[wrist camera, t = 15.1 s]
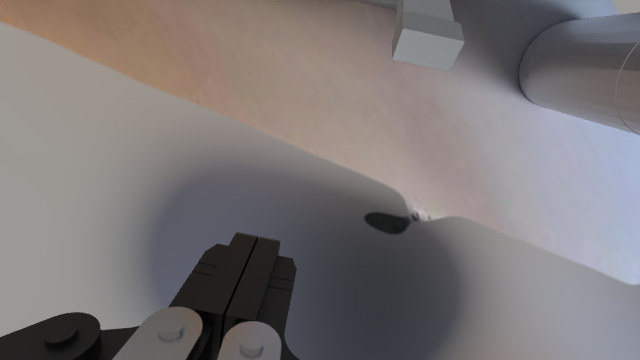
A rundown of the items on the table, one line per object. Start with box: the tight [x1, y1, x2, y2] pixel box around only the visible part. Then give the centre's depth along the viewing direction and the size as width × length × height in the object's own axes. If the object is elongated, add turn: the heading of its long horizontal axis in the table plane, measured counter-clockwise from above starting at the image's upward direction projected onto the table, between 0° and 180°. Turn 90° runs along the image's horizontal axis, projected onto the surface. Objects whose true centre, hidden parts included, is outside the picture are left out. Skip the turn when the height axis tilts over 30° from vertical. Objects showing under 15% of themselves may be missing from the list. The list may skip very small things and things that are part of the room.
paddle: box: [392, 0, 465, 72], centre depth 26 cm, size 4×2×15 cm, turn 79°
